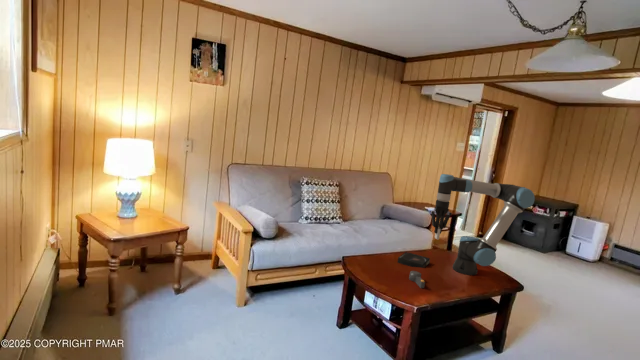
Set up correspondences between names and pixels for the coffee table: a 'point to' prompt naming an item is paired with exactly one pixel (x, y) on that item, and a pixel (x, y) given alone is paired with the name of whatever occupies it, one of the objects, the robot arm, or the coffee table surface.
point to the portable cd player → (413, 260)
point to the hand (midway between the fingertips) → (436, 238)
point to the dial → (417, 278)
